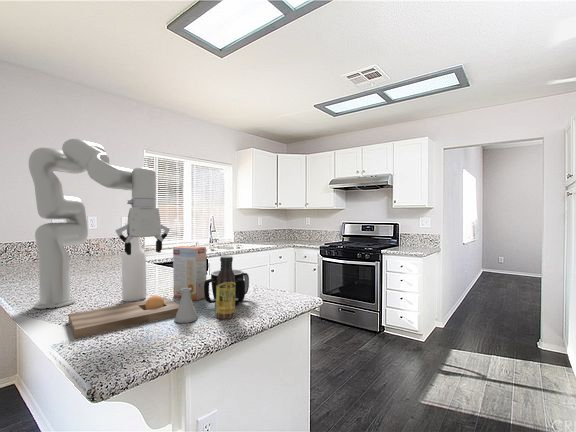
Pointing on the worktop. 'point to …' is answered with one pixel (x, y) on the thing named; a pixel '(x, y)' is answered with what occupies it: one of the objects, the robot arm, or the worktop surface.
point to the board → (118, 317)
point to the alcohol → (134, 273)
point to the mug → (240, 286)
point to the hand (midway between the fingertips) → (143, 253)
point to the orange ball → (154, 302)
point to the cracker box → (189, 270)
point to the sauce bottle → (225, 289)
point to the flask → (186, 308)
